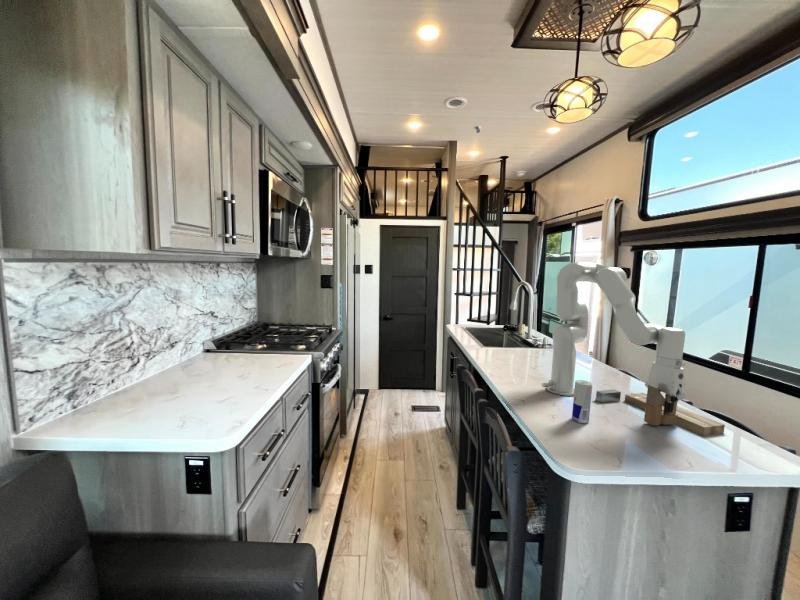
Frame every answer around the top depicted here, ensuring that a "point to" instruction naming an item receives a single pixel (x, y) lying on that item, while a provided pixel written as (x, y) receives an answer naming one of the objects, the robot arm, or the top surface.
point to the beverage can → (582, 401)
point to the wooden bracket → (658, 408)
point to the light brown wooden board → (682, 417)
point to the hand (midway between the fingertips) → (661, 409)
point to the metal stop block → (608, 395)
